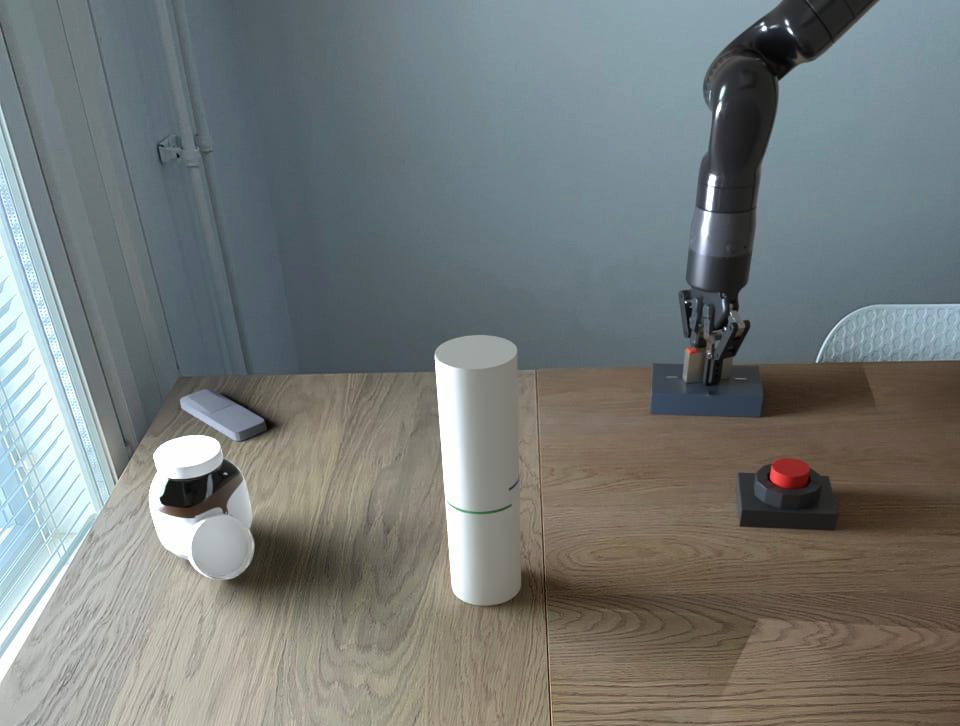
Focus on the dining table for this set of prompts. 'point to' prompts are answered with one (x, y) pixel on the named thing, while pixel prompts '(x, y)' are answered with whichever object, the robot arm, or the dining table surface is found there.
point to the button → (789, 473)
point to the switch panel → (706, 393)
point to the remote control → (223, 414)
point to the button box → (785, 502)
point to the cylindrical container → (481, 465)
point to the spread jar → (202, 507)
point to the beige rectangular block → (701, 365)
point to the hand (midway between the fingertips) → (704, 378)
